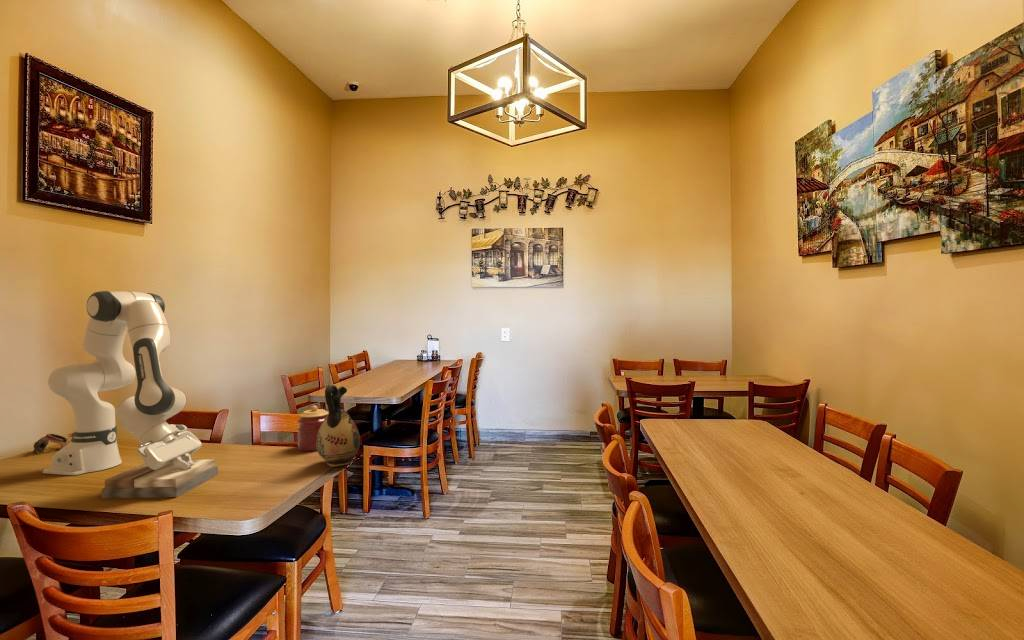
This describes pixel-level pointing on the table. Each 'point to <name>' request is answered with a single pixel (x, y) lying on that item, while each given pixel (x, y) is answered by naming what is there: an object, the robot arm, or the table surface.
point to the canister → (310, 428)
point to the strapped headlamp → (43, 442)
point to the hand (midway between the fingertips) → (190, 467)
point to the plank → (173, 474)
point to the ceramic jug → (337, 431)
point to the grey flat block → (125, 487)
